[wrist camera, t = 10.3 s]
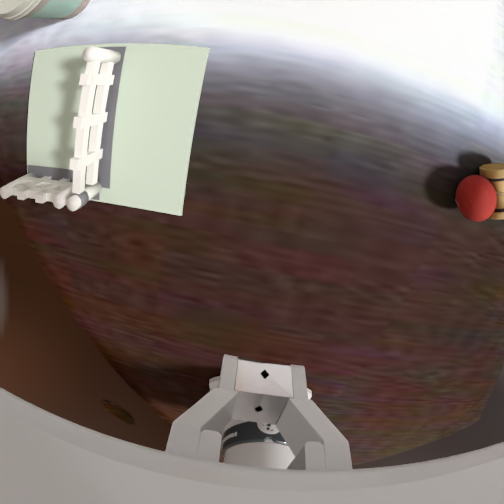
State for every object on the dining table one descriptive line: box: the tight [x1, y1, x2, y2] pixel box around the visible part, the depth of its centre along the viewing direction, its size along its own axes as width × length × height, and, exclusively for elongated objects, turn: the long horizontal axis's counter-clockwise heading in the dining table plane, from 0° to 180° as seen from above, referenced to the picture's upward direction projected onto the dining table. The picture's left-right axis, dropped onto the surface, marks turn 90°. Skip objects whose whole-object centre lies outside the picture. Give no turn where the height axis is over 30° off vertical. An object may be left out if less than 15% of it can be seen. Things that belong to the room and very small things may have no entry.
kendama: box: [455, 163, 504, 221], centre depth 31 cm, size 8×6×18 cm
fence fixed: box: [0, 172, 88, 209], centre depth 32 cm, size 11×2×6 cm, turn 79°
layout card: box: [27, 43, 210, 216], centre depth 32 cm, size 20×24×1 cm
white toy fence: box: [66, 46, 121, 211], centre depth 29 cm, size 18×2×6 cm, turn 166°
